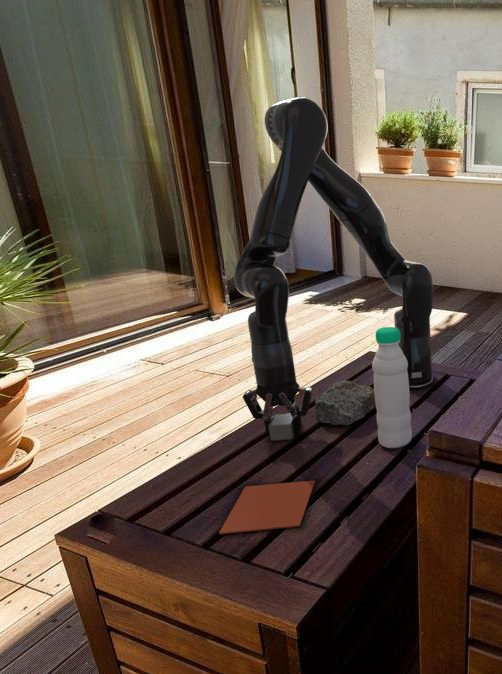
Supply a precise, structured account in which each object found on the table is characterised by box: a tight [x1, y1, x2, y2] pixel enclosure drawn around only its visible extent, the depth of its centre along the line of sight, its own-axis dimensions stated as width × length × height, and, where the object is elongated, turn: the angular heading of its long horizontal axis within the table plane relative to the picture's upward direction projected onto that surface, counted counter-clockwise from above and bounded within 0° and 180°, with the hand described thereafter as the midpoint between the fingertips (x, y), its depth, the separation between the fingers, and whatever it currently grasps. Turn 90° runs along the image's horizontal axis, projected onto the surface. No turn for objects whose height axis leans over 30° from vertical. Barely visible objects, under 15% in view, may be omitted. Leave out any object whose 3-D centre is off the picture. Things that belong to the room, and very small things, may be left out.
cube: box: [269, 413, 296, 442], centre depth 102 cm, size 5×4×4 cm
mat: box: [218, 480, 316, 535], centre depth 80 cm, size 12×12×1 cm
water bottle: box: [371, 326, 413, 449], centre depth 96 cm, size 7×7×25 cm
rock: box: [314, 379, 376, 426], centre depth 111 cm, size 13×6×15 cm
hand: (284, 432), depth 103 cm, fingers closed on cube, 4 cm apart
